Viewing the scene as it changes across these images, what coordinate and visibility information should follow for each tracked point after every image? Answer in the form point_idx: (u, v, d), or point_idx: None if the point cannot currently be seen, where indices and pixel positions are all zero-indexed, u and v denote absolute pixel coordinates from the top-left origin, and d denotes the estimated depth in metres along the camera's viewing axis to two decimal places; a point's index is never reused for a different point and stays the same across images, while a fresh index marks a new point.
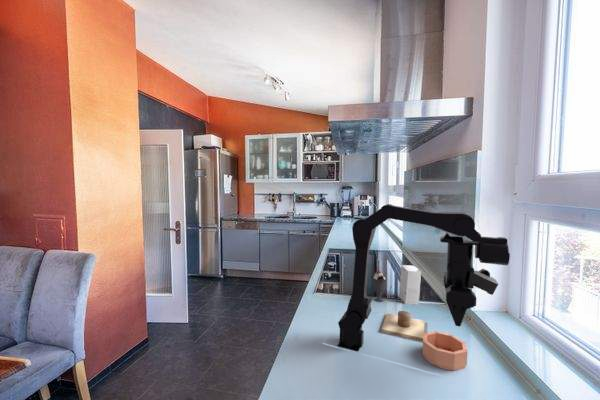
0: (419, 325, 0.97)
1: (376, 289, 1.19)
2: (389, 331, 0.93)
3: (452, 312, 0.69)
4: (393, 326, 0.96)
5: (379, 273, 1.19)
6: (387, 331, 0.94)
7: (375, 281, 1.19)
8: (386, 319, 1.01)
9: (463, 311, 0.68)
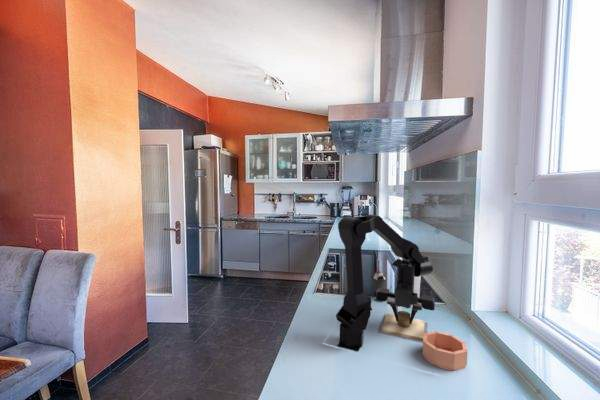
0: (419, 325, 0.97)
1: (376, 289, 1.19)
2: (389, 331, 0.93)
3: None
4: (393, 326, 0.96)
5: (379, 273, 1.19)
6: (387, 331, 0.94)
7: (375, 281, 1.18)
8: (386, 319, 1.01)
9: None
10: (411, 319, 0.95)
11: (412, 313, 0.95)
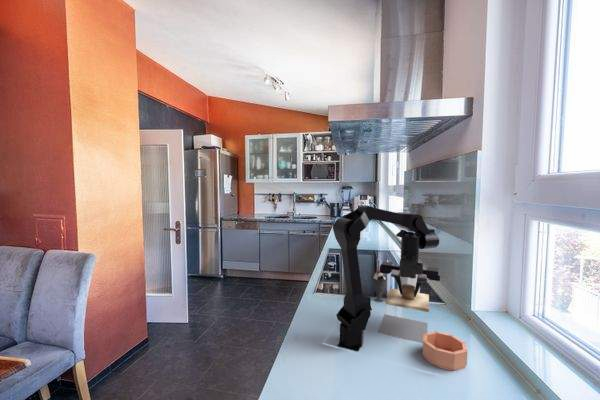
0: (424, 298, 0.95)
1: (376, 289, 1.19)
2: (393, 303, 0.91)
3: None
4: (397, 299, 0.94)
5: (379, 273, 1.19)
6: (391, 303, 0.91)
7: (375, 281, 1.18)
8: (390, 293, 0.99)
9: None
10: (416, 291, 0.93)
11: (417, 285, 0.93)
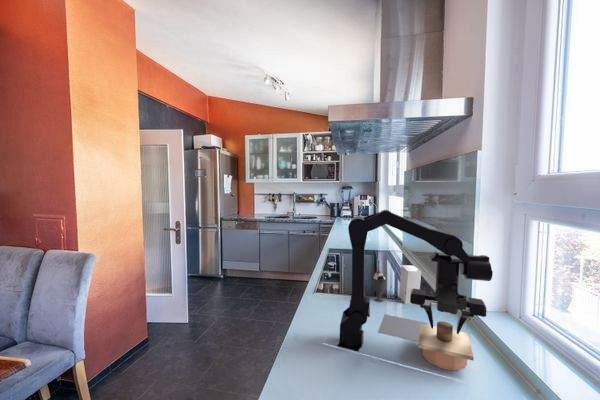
0: (463, 339, 0.80)
1: (376, 289, 1.19)
2: (429, 347, 0.76)
3: None
4: (432, 340, 0.79)
5: (379, 273, 1.19)
6: (426, 347, 0.77)
7: (375, 281, 1.19)
8: (421, 331, 0.84)
9: None
10: (459, 328, 0.78)
11: (460, 320, 0.77)
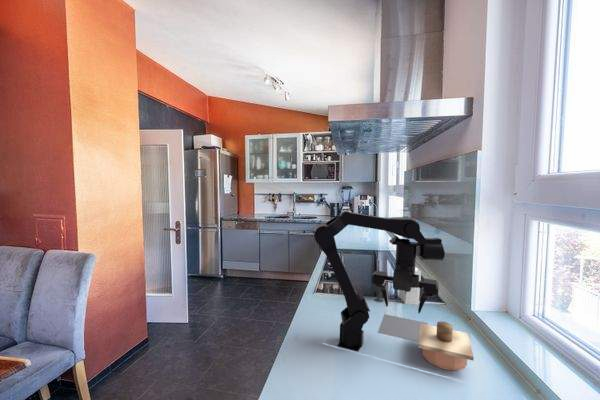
0: (463, 339, 0.80)
1: (376, 289, 1.19)
2: (429, 347, 0.76)
3: None
4: (432, 340, 0.79)
5: None
6: (426, 347, 0.77)
7: None
8: (421, 331, 0.84)
9: None
10: (420, 307, 0.83)
11: (421, 300, 0.82)
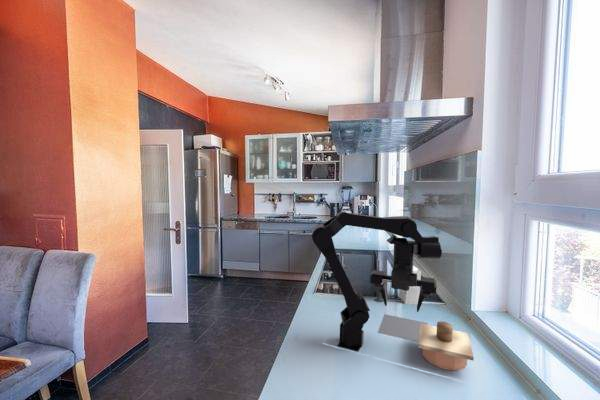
0: (463, 339, 0.80)
1: (376, 289, 1.19)
2: (429, 347, 0.76)
3: None
4: (432, 340, 0.79)
5: None
6: (426, 347, 0.77)
7: None
8: (421, 331, 0.84)
9: None
10: (418, 306, 0.83)
11: (419, 298, 0.83)
